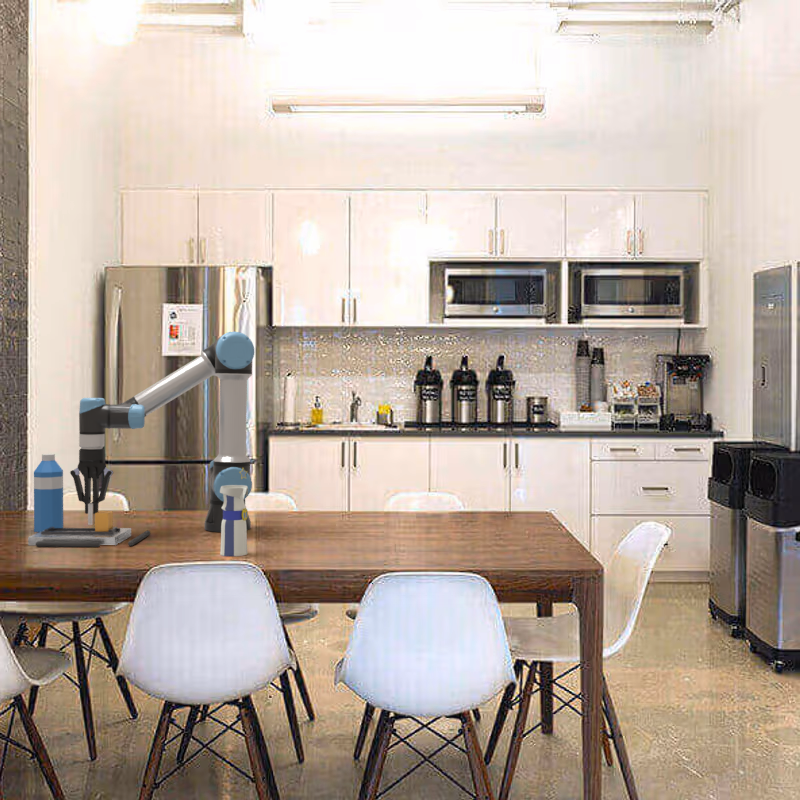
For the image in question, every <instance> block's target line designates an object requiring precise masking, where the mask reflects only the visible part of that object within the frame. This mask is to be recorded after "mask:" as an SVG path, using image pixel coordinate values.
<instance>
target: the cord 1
mask: <svg viewBox="0 0 800 800" xmlns="http://www.w3.org/2000/svg"><path fill="white" fill-rule="evenodd" d="M35 546H36V547H38V548H100V547H101V546H100V542H56V541H38V542H36V545H35ZM99 546H100V547H99Z"/></svg>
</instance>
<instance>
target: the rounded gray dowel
mask: <svg viewBox="0 0 800 800" xmlns="http://www.w3.org/2000/svg"><path fill="white" fill-rule="evenodd" d="M150 535H151V531H150V530H146V531H144V532H142V533H140V534H139V535H137V536H136V537H134V538H132V539H131V540H128V542H127V544H128V546H129V547H133V546H134V545H136V544H137V543H139V542H140V541H142V540H144V539H146V538H147V537H148V536H150Z"/></svg>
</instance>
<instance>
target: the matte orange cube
mask: <svg viewBox="0 0 800 800" xmlns="http://www.w3.org/2000/svg"><path fill="white" fill-rule="evenodd" d="M113 527H114V511H113V510H98V512H97V513H95V524H94V528H95V531H108V530H109V529H111V528H113Z"/></svg>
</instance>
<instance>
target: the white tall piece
mask: <svg viewBox="0 0 800 800" xmlns="http://www.w3.org/2000/svg"><path fill="white" fill-rule="evenodd" d="M247 472H248V471H244V468H243V469H242V471H241V472H239V473H240V474H241V479H242V478H246V473H247ZM220 493H222V494H223V497H224V503H223V506H222V507H221V508H222V509H223V520H222V523H221V532H220V553H219V555H220V556H223V557H241V556H246V555H248V539H247V536H248V535H247V527H246V519H247V516H248V515H249V512H248V509H247V506H246V503H245V504H244V496H245V495H246V498H248V496H249V495H248V487H247V486H244V485H226V486H221V488H220ZM247 495H248V496H247Z"/></svg>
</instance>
